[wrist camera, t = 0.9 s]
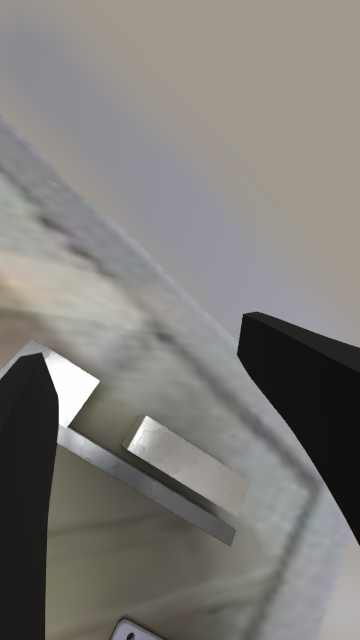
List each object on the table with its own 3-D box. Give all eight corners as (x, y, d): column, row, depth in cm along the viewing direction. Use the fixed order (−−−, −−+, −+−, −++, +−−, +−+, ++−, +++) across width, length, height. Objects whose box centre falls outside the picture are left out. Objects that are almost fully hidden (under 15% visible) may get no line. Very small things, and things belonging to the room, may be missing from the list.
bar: (225, 471, 21) (249, 480, 18) (214, 502, 20) (237, 517, 17) (137, 416, 21) (146, 415, 17) (120, 444, 19) (127, 449, 16)
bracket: (230, 473, 21) (266, 486, 17) (211, 529, 19) (245, 560, 15) (43, 355, 20) (32, 338, 16) (1, 403, 18) (-26, 398, 14)
